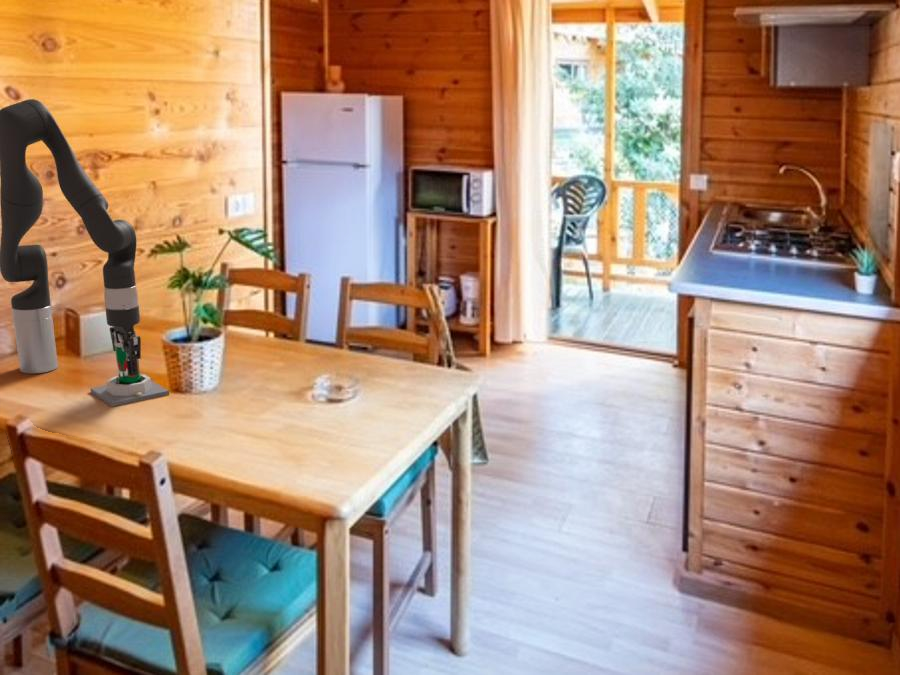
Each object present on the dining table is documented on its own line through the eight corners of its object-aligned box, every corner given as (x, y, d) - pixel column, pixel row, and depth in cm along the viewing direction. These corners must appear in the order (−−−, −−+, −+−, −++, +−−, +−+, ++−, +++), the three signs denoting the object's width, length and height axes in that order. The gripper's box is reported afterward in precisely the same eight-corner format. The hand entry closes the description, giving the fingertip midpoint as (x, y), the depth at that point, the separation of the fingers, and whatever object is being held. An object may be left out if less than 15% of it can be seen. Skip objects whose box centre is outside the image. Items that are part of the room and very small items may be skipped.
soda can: (145, 386, 212) (141, 339, 209) (133, 392, 207) (128, 343, 204) (127, 386, 213) (122, 338, 210) (115, 391, 208) (110, 343, 206)
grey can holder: (90, 392, 211) (89, 378, 210) (146, 380, 220) (145, 367, 219) (111, 406, 201) (110, 392, 200) (169, 394, 210) (168, 381, 209)
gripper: (95, 301, 207) (102, 368, 212) (117, 312, 197) (124, 382, 202) (126, 297, 212) (132, 362, 217) (149, 307, 202) (155, 376, 206)
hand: (128, 371), depth 209 cm, fingers closed on soda can, 5 cm apart
